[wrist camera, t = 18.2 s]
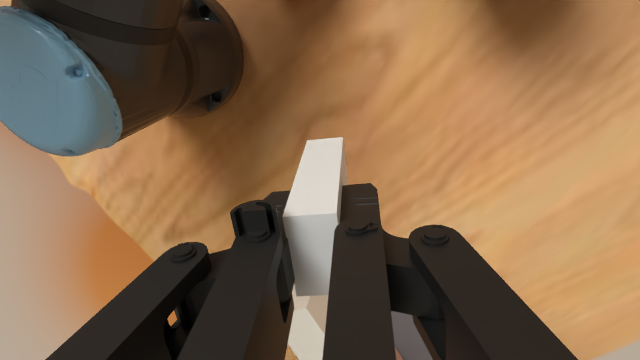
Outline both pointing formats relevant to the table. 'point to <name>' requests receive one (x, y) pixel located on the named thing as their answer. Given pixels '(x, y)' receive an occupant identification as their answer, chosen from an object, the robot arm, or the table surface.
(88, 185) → the table surface
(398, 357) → the terracotta key
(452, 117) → the table surface
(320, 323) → the off-white key
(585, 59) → the table surface
